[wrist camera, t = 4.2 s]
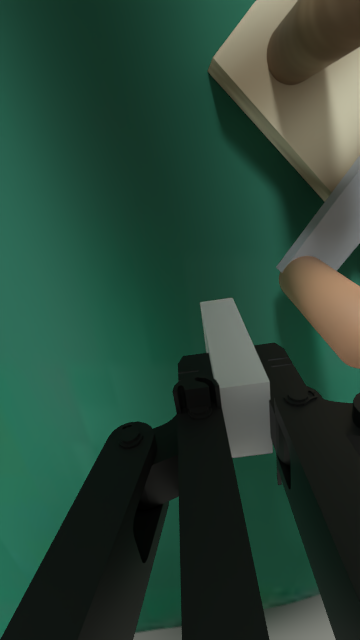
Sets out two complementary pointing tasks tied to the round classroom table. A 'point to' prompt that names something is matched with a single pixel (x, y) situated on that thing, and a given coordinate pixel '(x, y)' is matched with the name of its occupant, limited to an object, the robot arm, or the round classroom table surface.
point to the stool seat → (299, 82)
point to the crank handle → (329, 269)
